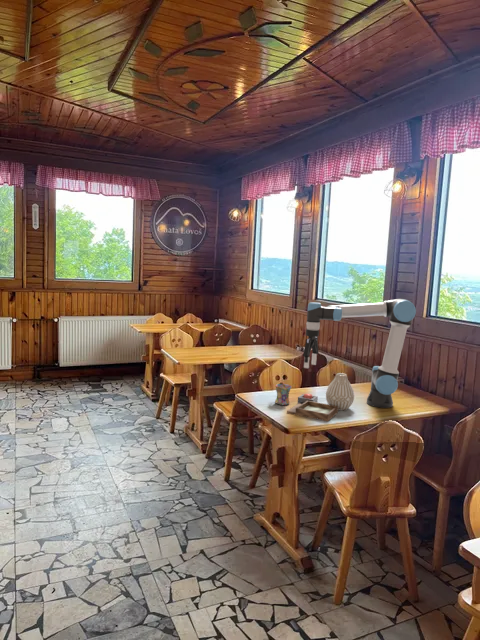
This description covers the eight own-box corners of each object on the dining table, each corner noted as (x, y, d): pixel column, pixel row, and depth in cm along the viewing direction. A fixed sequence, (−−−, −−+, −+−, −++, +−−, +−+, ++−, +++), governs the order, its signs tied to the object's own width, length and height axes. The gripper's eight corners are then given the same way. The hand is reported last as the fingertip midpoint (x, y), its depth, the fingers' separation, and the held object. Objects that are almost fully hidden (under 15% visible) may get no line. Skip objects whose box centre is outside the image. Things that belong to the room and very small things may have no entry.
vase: (323, 403, 276) (325, 370, 274) (350, 405, 276) (352, 371, 274) (327, 411, 261) (329, 376, 258) (355, 413, 260) (358, 378, 258)
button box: (317, 403, 276) (317, 396, 275) (312, 406, 268) (312, 400, 267) (302, 400, 280) (303, 393, 280) (297, 403, 272) (297, 397, 272)
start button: (312, 401, 275) (313, 394, 274) (310, 403, 271) (310, 396, 270) (305, 399, 277) (305, 393, 277) (302, 401, 273) (302, 394, 272)
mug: (293, 405, 269) (294, 387, 268) (279, 406, 265) (281, 388, 263) (281, 399, 279) (283, 382, 278) (268, 400, 275) (269, 383, 274)
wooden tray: (337, 412, 259) (338, 406, 259) (327, 421, 243) (328, 414, 243) (298, 405, 270) (299, 398, 269) (286, 412, 254) (287, 406, 253)
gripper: (313, 326, 282) (310, 362, 284) (299, 330, 261) (296, 368, 263) (325, 328, 278) (322, 363, 281) (311, 331, 257) (308, 370, 259)
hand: (310, 366), depth 272 cm, fingers open, 12 cm apart
